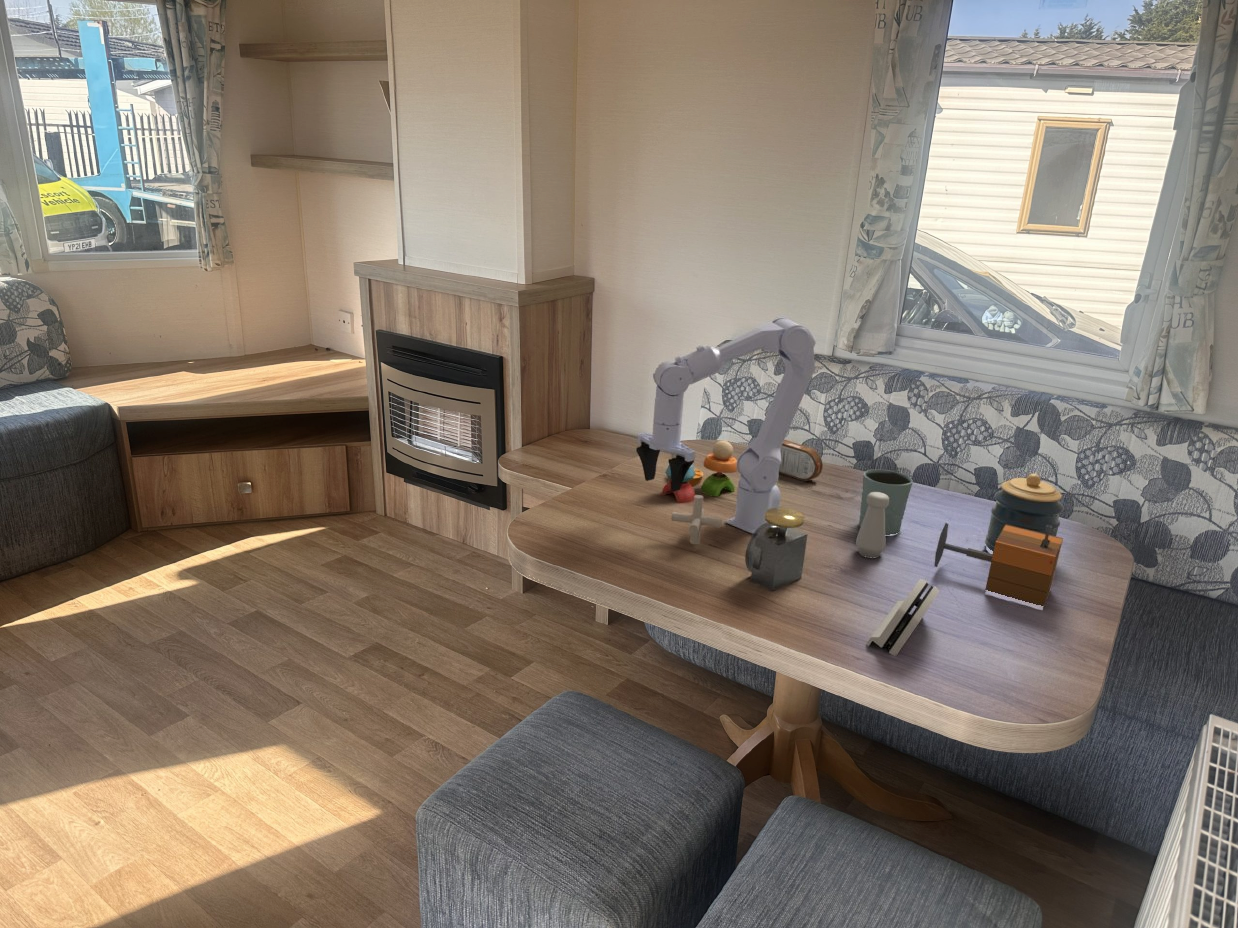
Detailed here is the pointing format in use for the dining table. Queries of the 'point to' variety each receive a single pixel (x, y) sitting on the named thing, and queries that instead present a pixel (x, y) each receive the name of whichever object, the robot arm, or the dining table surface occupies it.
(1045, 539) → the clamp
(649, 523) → the dining table surface
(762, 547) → the kitchen scale
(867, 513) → the salt shaker
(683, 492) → the colourful wooden stacking toy
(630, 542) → the dining table surface
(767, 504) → the robot arm
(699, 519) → the pipe connector
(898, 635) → the beige slotted block
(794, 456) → the tin
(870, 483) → the green cup
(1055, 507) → the canister
